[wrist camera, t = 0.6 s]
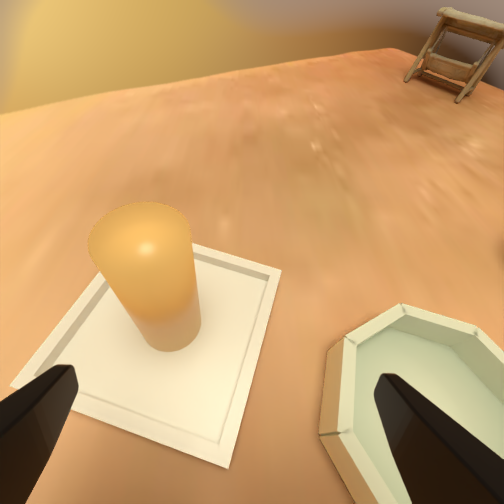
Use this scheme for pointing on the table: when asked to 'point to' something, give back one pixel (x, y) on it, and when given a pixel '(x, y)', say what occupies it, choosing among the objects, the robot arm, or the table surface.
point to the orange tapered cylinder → (150, 270)
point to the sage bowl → (418, 376)
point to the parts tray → (168, 359)
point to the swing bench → (452, 69)
